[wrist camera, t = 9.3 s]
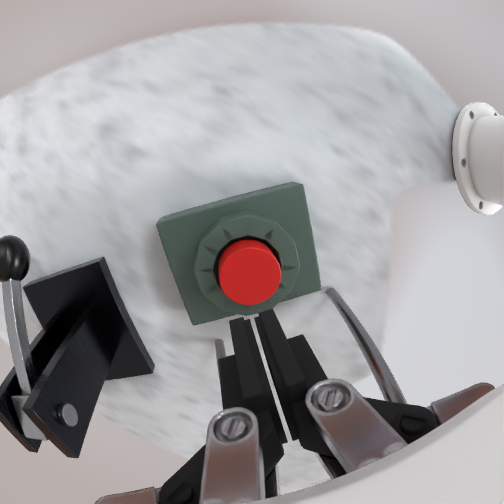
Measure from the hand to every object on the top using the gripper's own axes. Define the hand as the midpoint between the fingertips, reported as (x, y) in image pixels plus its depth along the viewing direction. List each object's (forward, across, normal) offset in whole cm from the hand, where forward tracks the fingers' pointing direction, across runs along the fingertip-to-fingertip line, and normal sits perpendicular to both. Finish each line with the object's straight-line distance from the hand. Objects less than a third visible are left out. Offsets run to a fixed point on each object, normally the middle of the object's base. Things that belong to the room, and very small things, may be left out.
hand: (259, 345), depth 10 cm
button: (+8, -1, 0) cm, 8 cm away
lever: (+5, +14, -1) cm, 15 cm away
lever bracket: (+12, +14, +3) cm, 19 cm away
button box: (+12, -1, 0) cm, 12 cm away
